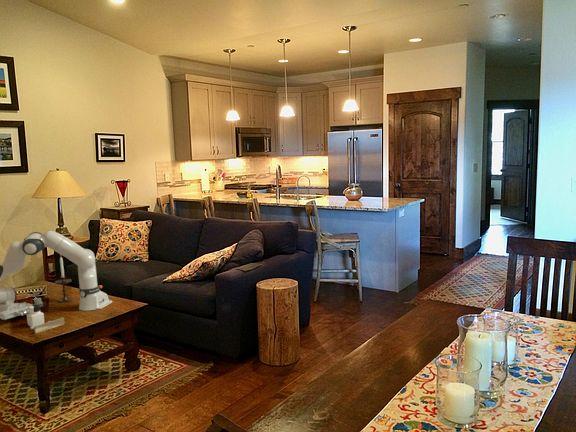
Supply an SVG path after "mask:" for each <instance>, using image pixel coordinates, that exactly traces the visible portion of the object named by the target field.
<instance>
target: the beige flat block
mask: <svg viewBox="0 0 576 432" xmlns="http://www.w3.org/2000/svg"><path fill="white" fill-rule="evenodd" d="M63 325H65V317H60V318H56V319H54V320H48V321H47V322H44V324H41V325H38V326H35V327H31V326H29V330H33V331H34V334H35V335H37V334H40V333H44V332H46V331H48V330H52V329H54V328H57V327H60V326H63Z"/></svg>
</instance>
